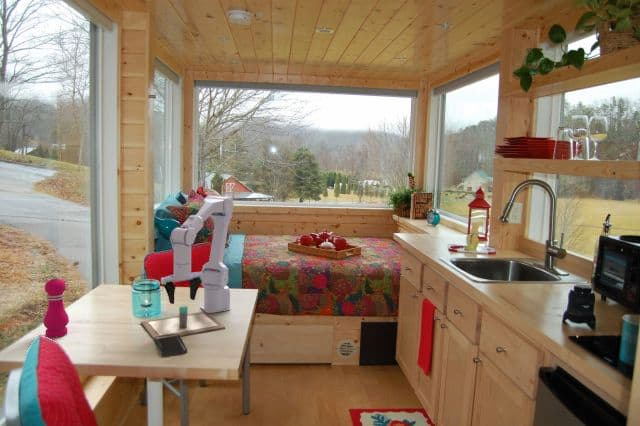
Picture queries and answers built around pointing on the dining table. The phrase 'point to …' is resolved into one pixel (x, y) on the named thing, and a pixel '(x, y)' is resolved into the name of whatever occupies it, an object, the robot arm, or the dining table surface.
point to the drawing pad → (171, 326)
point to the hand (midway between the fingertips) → (182, 301)
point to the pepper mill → (55, 308)
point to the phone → (170, 345)
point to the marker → (183, 316)
